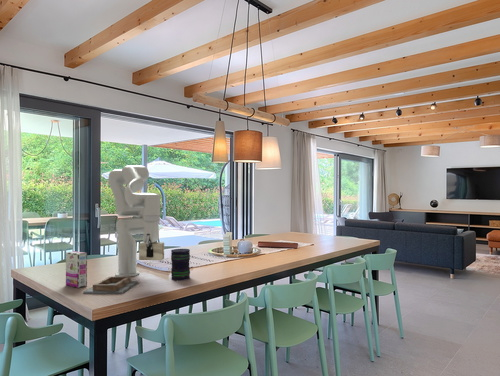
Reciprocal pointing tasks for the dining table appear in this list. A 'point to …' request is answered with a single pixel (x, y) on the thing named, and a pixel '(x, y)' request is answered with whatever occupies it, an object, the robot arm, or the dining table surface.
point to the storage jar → (180, 264)
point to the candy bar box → (76, 269)
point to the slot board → (112, 286)
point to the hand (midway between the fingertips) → (151, 255)
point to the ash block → (157, 251)
